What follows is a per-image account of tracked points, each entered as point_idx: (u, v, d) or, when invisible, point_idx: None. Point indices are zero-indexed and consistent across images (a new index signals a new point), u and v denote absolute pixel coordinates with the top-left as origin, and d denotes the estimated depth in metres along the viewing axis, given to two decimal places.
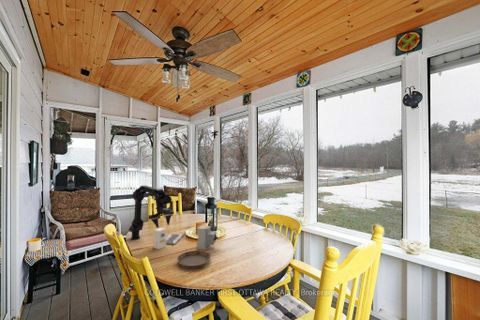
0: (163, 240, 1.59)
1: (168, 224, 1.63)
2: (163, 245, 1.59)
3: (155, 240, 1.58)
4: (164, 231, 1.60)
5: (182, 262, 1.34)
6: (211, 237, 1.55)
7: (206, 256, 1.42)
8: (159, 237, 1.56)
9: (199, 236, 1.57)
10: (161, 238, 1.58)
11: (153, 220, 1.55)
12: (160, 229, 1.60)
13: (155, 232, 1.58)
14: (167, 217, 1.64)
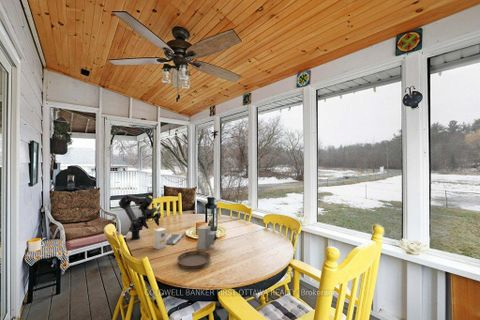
0: (163, 240, 1.59)
1: (158, 225, 1.68)
2: (163, 245, 1.59)
3: (155, 240, 1.58)
4: (164, 231, 1.60)
5: (182, 262, 1.34)
6: (211, 237, 1.55)
7: (206, 256, 1.42)
8: (159, 237, 1.56)
9: (199, 236, 1.57)
10: (161, 238, 1.58)
11: (141, 223, 1.62)
12: (160, 229, 1.60)
13: (155, 232, 1.58)
14: (156, 219, 1.71)
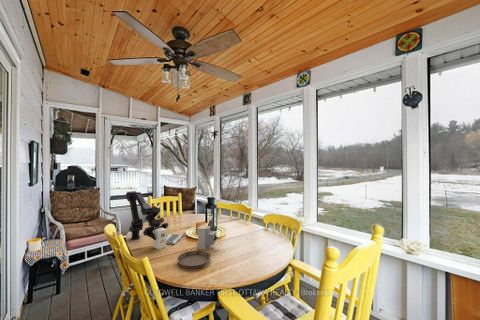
0: (163, 240, 1.59)
1: (166, 235, 1.63)
2: (163, 245, 1.59)
3: (155, 240, 1.58)
4: (164, 231, 1.60)
5: (182, 262, 1.34)
6: (211, 237, 1.55)
7: (206, 256, 1.42)
8: (159, 237, 1.56)
9: (199, 236, 1.57)
10: (161, 238, 1.58)
11: (149, 235, 1.56)
12: (160, 229, 1.60)
13: (155, 232, 1.58)
14: None
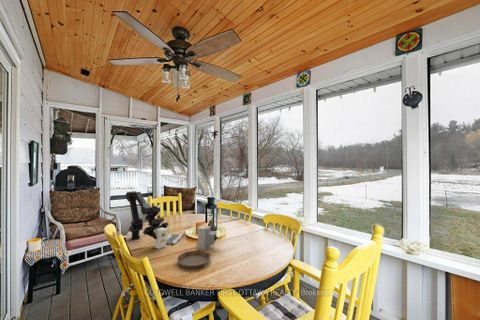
0: (163, 240, 1.59)
1: None
2: (163, 245, 1.59)
3: (155, 239, 1.58)
4: (165, 231, 1.60)
5: (182, 262, 1.34)
6: (211, 237, 1.55)
7: (206, 256, 1.42)
8: (159, 237, 1.56)
9: (199, 236, 1.57)
10: (162, 237, 1.58)
11: (150, 234, 1.57)
12: (161, 229, 1.60)
13: (156, 231, 1.58)
14: None
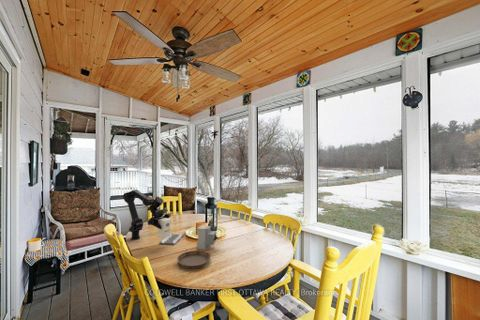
0: (168, 230, 1.63)
1: None
2: (167, 234, 1.63)
3: (159, 229, 1.61)
4: (169, 221, 1.64)
5: (182, 262, 1.34)
6: (211, 237, 1.55)
7: (206, 256, 1.42)
8: (164, 226, 1.60)
9: (199, 236, 1.57)
10: (166, 227, 1.62)
11: (154, 224, 1.60)
12: (165, 219, 1.64)
13: (160, 221, 1.61)
14: None
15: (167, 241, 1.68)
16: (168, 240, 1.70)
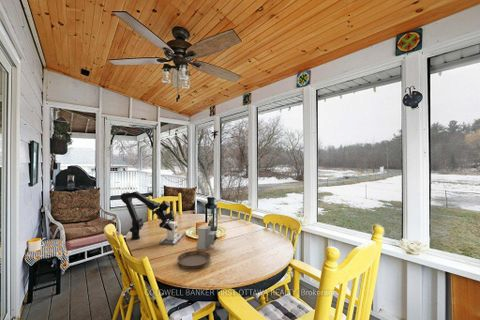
0: (176, 232, 1.76)
1: None
2: (176, 236, 1.76)
3: (169, 232, 1.72)
4: (176, 223, 1.77)
5: (182, 262, 1.34)
6: (211, 237, 1.55)
7: (206, 256, 1.42)
8: (174, 229, 1.72)
9: (199, 236, 1.57)
10: (175, 229, 1.74)
11: (164, 226, 1.69)
12: (172, 222, 1.75)
13: (169, 225, 1.72)
14: None
15: (167, 241, 1.68)
16: (168, 240, 1.70)
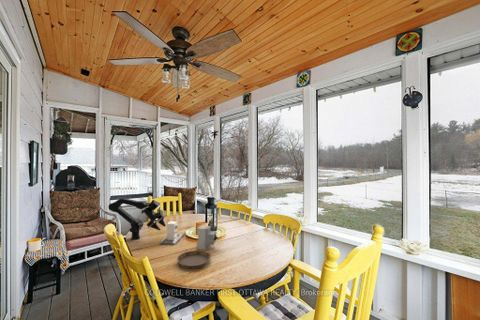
0: (176, 232, 1.76)
1: (165, 225, 1.80)
2: (176, 236, 1.76)
3: (169, 232, 1.72)
4: (176, 223, 1.77)
5: (182, 262, 1.34)
6: (211, 237, 1.55)
7: (206, 256, 1.42)
8: (174, 229, 1.72)
9: (199, 236, 1.57)
10: (175, 229, 1.74)
11: (152, 226, 1.70)
12: (172, 222, 1.75)
13: (169, 225, 1.72)
14: (161, 221, 1.81)
15: (167, 241, 1.68)
16: (168, 240, 1.70)
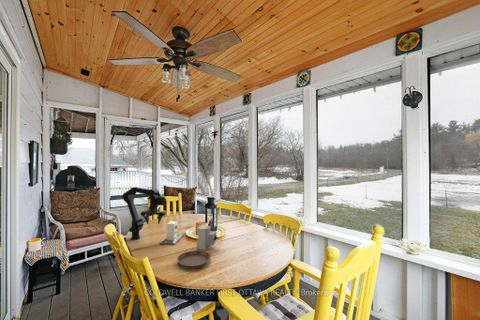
0: (176, 232, 1.76)
1: None
2: (176, 236, 1.76)
3: (169, 232, 1.72)
4: (176, 223, 1.77)
5: (182, 262, 1.34)
6: (211, 237, 1.55)
7: (206, 256, 1.42)
8: (174, 229, 1.72)
9: (199, 236, 1.57)
10: (175, 229, 1.74)
11: (146, 216, 1.75)
12: (172, 222, 1.75)
13: (169, 225, 1.72)
14: None
15: (167, 241, 1.68)
16: (168, 240, 1.70)
